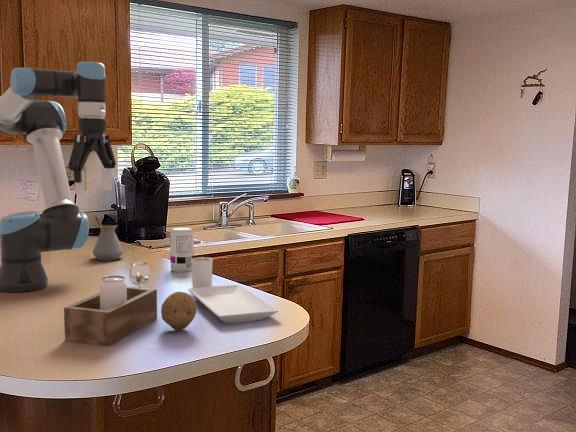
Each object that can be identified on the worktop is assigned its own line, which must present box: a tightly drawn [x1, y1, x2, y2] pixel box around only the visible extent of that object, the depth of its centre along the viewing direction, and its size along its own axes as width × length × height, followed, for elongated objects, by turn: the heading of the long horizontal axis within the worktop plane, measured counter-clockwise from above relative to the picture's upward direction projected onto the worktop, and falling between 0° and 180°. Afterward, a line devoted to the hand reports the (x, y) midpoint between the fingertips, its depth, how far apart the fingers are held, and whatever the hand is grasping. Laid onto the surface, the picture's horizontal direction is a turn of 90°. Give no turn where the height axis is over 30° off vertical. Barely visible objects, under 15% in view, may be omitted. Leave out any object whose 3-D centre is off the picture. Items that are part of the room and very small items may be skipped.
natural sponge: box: [160, 291, 198, 332], centre depth 157 cm, size 9×9×10 cm
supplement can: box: [169, 226, 195, 273], centre depth 226 cm, size 8×8×15 cm
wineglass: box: [128, 261, 151, 288], centre depth 180 cm, size 6×6×12 cm
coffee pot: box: [92, 215, 124, 262], centre depth 247 cm, size 21×12×15 cm, turn 33°
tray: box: [188, 284, 279, 324], centre depth 178 cm, size 17×31×4 cm, turn 24°
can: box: [99, 275, 127, 310], centre depth 157 cm, size 6×6×12 cm
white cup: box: [191, 256, 214, 288], centre depth 197 cm, size 7×7×10 cm
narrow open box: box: [63, 285, 158, 347], centre depth 158 cm, size 12×23×8 cm, turn 164°
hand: (93, 192), depth 181 cm, fingers open, 13 cm apart
